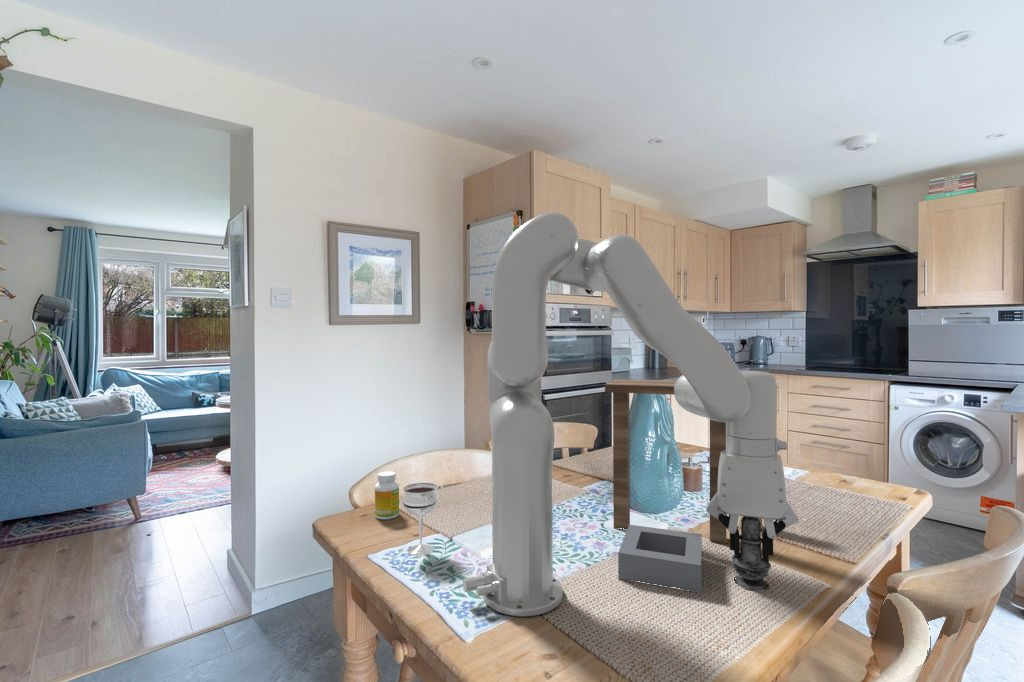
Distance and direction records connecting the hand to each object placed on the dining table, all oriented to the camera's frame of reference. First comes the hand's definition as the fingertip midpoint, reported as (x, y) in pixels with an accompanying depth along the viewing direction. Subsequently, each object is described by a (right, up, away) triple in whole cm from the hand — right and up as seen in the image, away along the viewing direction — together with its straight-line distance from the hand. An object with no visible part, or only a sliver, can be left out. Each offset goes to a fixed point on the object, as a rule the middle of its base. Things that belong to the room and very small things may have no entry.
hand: (750, 555), depth 81 cm
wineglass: (-57, -5, +13) cm, 59 cm away
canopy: (-9, -4, +16) cm, 19 cm away
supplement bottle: (-68, -5, +31) cm, 75 cm away
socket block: (-13, -5, +5) cm, 15 cm away
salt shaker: (0, -5, 0) cm, 5 cm away
